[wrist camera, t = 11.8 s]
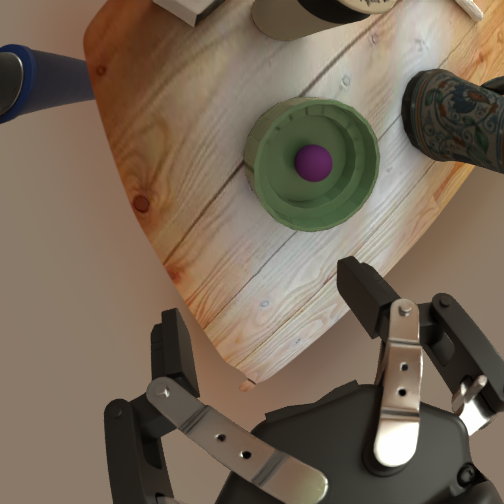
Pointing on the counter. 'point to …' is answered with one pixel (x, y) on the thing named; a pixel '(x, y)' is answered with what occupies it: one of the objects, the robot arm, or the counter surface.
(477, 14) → the white flat disc
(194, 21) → the medicine bottle
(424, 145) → the beer stein
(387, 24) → the counter surface
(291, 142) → the green bowl
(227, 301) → the counter surface
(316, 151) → the ball
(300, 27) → the travel mug
